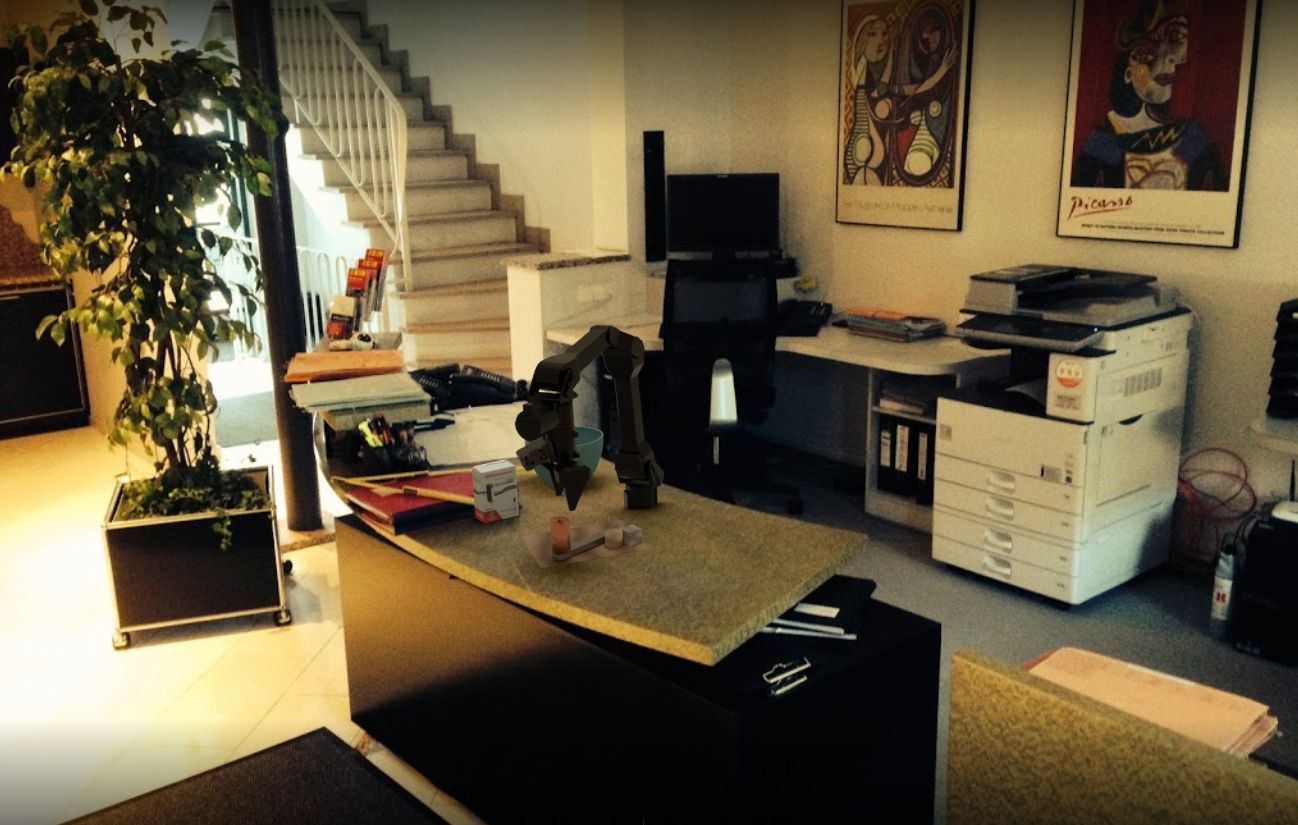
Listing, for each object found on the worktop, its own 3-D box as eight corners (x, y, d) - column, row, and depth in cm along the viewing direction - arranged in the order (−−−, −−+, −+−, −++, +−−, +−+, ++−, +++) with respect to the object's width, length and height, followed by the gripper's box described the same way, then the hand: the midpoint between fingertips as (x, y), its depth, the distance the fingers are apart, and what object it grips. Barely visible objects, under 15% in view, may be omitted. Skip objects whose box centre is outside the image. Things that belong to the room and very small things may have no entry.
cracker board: (622, 525, 234) (621, 506, 233) (650, 554, 218) (649, 534, 217) (519, 542, 227) (518, 522, 226) (541, 573, 211) (540, 553, 210)
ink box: (484, 524, 238) (480, 471, 235) (474, 518, 242) (470, 466, 239) (520, 515, 243) (516, 463, 240) (510, 509, 247) (506, 458, 244)
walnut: (619, 541, 222) (619, 527, 221) (625, 547, 219) (624, 533, 218) (603, 544, 221) (602, 530, 220) (608, 550, 218) (607, 535, 217)
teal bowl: (512, 491, 259) (508, 440, 255) (561, 469, 273) (558, 421, 270) (573, 504, 248) (570, 451, 245) (621, 480, 263) (618, 431, 260)
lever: (603, 534, 225) (601, 498, 223) (616, 538, 223) (614, 502, 221) (548, 558, 214) (546, 520, 212) (561, 562, 212) (559, 524, 210)
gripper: (506, 419, 216) (513, 495, 221) (530, 445, 199) (537, 526, 204) (561, 411, 220) (567, 485, 224) (589, 436, 203) (595, 516, 207)
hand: (565, 503), depth 215 cm, fingers open, 9 cm apart
